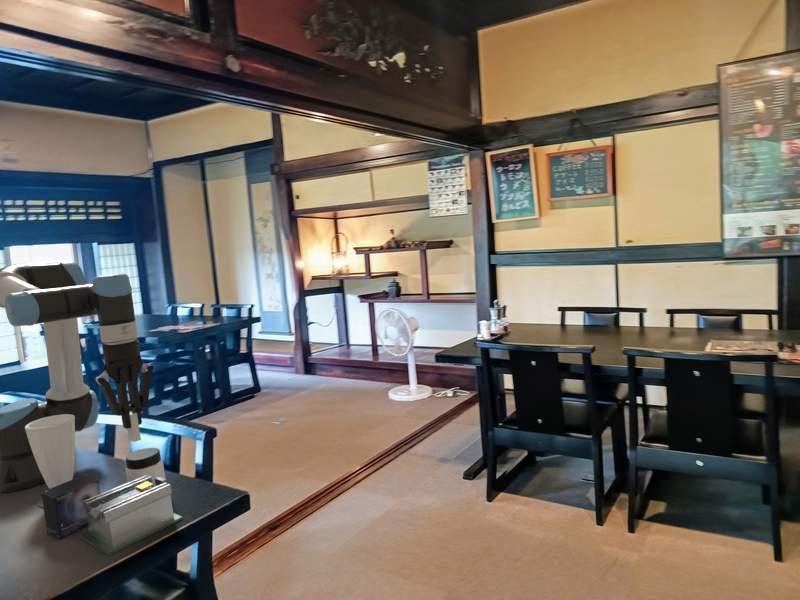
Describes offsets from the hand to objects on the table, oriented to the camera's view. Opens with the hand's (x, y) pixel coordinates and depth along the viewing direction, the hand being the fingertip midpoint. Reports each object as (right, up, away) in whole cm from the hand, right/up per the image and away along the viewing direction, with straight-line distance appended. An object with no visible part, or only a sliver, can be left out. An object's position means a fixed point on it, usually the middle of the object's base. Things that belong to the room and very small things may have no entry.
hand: (134, 439), depth 127 cm
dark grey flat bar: (-2, -14, -2) cm, 14 cm away
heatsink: (0, -21, 0) cm, 21 cm away
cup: (-29, -21, +20) cm, 41 cm away
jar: (-4, -19, +15) cm, 25 cm away
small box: (-15, -22, +3) cm, 27 cm away
